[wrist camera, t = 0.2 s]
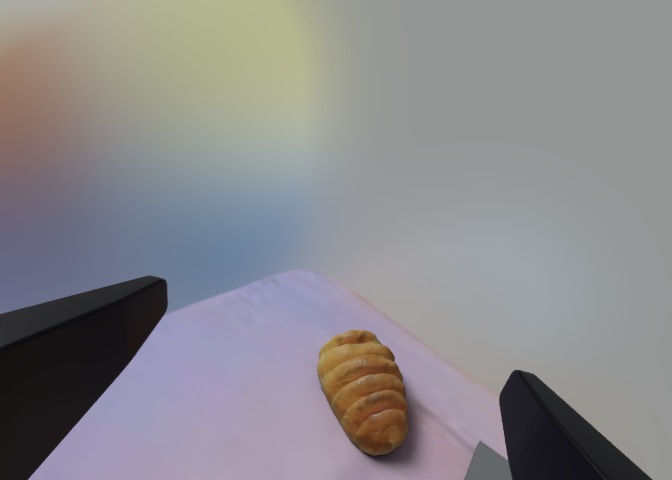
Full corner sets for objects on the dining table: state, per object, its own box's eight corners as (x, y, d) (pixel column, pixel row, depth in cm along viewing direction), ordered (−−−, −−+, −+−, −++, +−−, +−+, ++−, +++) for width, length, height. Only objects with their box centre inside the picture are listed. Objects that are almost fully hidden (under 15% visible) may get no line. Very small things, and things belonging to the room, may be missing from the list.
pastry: (425, 451, 23) (442, 418, 22) (338, 470, 21) (349, 435, 19) (377, 352, 31) (386, 322, 30) (309, 359, 29) (315, 327, 27)
